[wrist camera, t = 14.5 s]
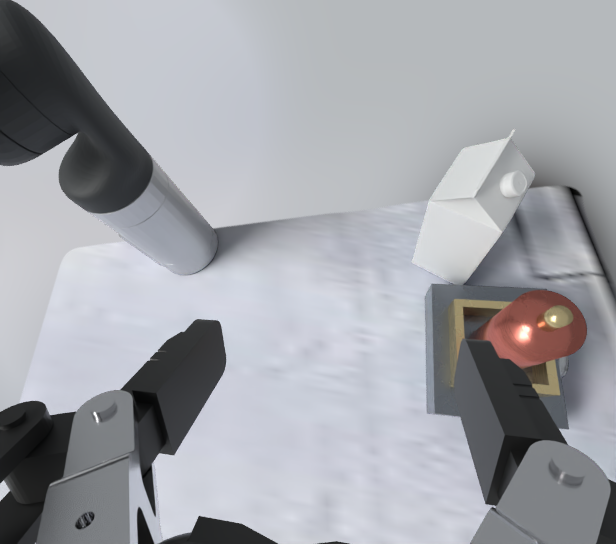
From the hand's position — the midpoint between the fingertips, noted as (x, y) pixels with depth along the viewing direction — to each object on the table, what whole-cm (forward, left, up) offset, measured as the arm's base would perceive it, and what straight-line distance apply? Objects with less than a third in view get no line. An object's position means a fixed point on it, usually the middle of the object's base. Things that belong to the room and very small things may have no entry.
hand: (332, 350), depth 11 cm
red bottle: (+14, +6, -27) cm, 31 cm away
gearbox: (+14, +6, -32) cm, 35 cm away
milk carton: (+11, +19, -32) cm, 39 cm away
